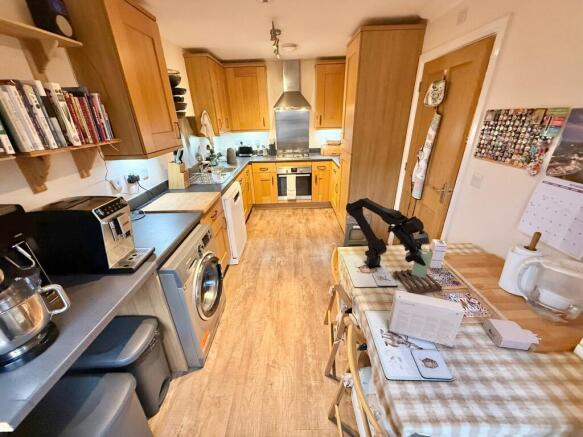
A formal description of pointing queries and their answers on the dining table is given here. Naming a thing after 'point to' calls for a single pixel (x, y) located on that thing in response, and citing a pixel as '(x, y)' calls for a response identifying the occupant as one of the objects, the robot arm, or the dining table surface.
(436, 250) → the syrup box
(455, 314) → the skincare box
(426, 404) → the dining table surface
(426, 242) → the robot arm
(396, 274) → the rack
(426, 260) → the green rectangular box
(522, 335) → the charger
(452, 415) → the dining table surface
